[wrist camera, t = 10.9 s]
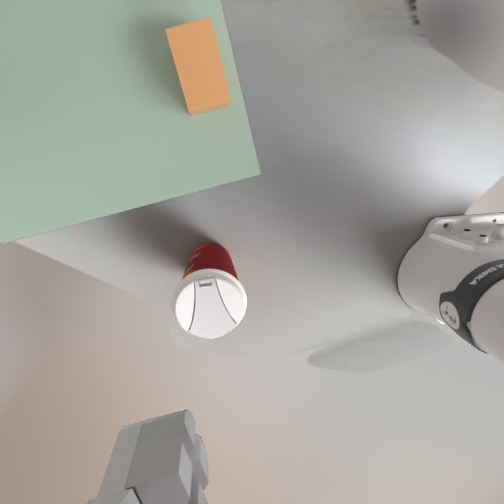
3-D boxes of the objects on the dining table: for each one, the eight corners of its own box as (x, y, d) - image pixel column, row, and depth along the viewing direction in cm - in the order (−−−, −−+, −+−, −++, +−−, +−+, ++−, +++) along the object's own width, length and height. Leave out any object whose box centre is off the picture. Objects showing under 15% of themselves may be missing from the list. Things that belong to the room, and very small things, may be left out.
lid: (206, -53, 24) (204, -103, 19) (259, 173, 30) (268, 179, 25) (-102, 23, 24) (-185, -8, 19) (10, 239, 29) (-32, 259, 24)
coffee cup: (178, 239, 48) (163, 279, 34) (234, 231, 48) (243, 268, 34) (187, 291, 51) (178, 349, 36) (241, 284, 51) (252, 338, 37)
